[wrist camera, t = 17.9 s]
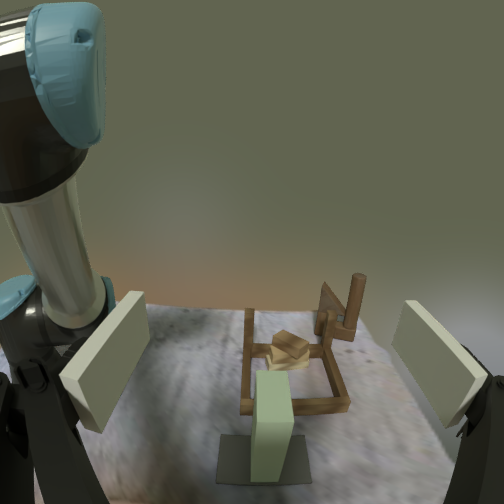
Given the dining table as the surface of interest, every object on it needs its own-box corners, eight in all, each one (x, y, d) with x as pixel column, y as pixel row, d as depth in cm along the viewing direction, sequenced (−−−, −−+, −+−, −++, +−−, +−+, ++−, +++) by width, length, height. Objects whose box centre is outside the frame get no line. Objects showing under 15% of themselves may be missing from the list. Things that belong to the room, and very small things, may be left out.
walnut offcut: (271, 345, 59) (272, 335, 59) (282, 339, 62) (283, 329, 61) (297, 359, 55) (299, 349, 54) (307, 351, 57) (309, 342, 57)
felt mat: (215, 483, 30) (215, 482, 30) (220, 435, 40) (220, 434, 40) (311, 483, 31) (311, 482, 30) (304, 436, 40) (304, 435, 40)
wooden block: (316, 328, 75) (326, 267, 70) (354, 335, 72) (367, 274, 66) (313, 335, 72) (323, 271, 67) (353, 342, 68) (367, 279, 63)
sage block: (250, 481, 31) (256, 421, 26) (251, 438, 39) (256, 370, 35) (278, 481, 31) (294, 421, 26) (275, 438, 39) (286, 370, 35)
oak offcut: (272, 364, 57) (273, 355, 56) (269, 354, 60) (269, 345, 59) (308, 361, 58) (309, 352, 57) (303, 352, 61) (305, 343, 61)
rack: (240, 415, 45) (241, 367, 42) (243, 352, 64) (245, 308, 60) (346, 412, 45) (363, 365, 42) (326, 353, 64) (335, 310, 61)
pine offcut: (268, 373, 58) (269, 364, 57) (265, 363, 61) (266, 354, 60) (307, 369, 59) (309, 360, 58) (302, 359, 62) (304, 351, 62)
